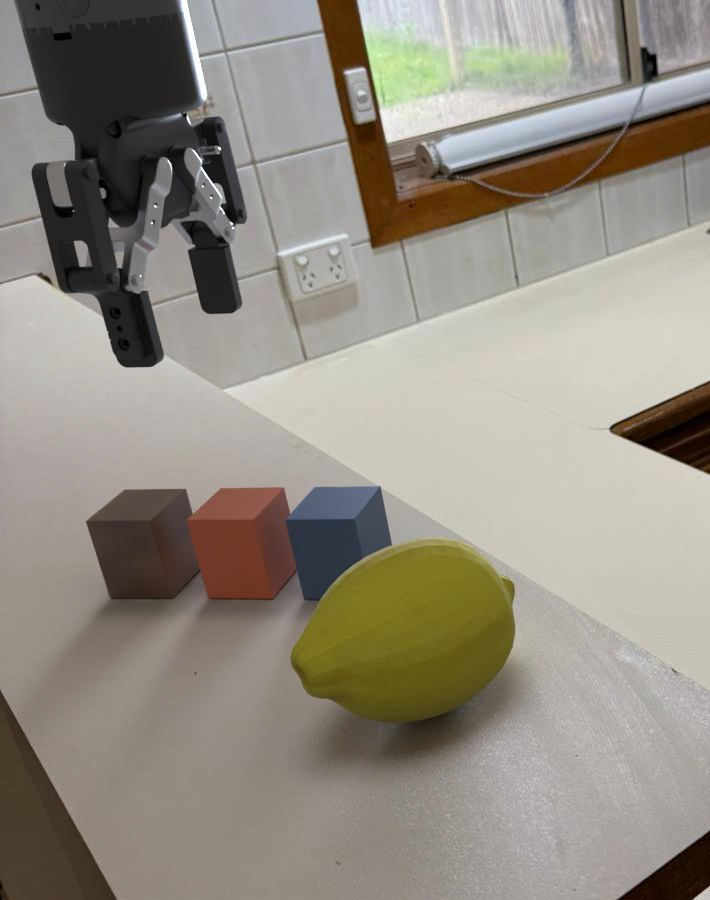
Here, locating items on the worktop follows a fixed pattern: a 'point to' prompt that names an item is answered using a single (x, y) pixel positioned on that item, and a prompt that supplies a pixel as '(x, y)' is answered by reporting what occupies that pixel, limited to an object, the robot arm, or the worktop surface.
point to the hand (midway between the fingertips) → (185, 337)
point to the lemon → (408, 632)
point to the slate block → (335, 533)
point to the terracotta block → (243, 542)
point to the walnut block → (144, 543)
